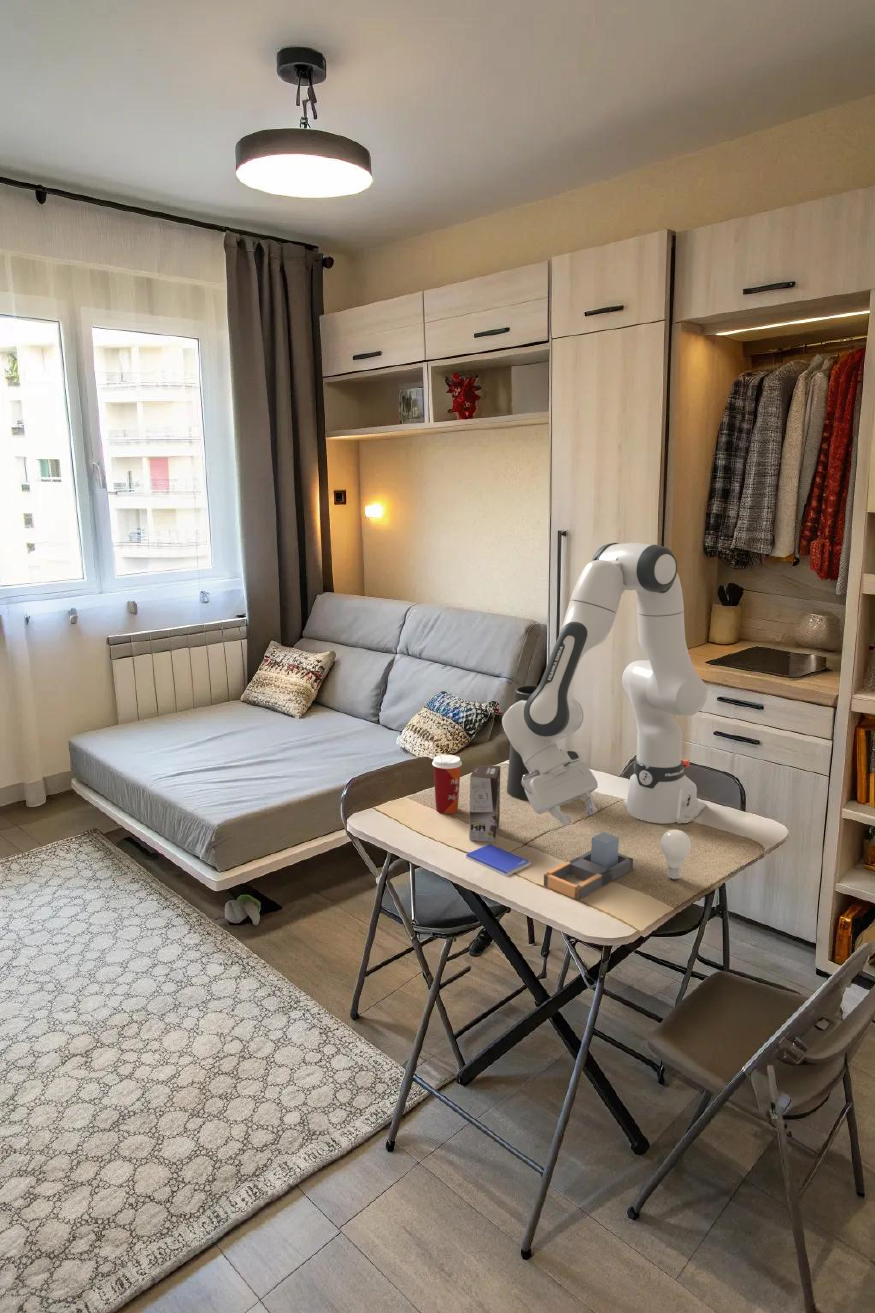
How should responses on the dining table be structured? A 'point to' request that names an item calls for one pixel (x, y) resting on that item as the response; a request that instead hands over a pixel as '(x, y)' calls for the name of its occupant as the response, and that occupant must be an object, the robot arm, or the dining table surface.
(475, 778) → the coffee box
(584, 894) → the grey orange rectangular frame
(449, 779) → the paper cup
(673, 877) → the lightbulb
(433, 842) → the dining table surface
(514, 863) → the hard drive
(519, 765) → the vase
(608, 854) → the plug
